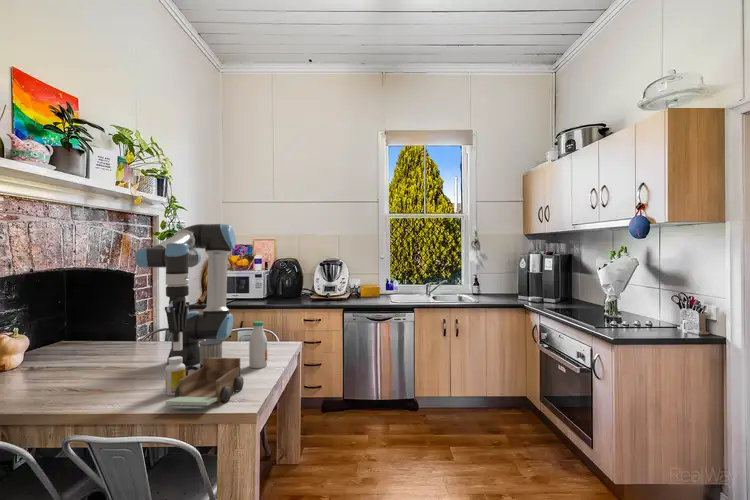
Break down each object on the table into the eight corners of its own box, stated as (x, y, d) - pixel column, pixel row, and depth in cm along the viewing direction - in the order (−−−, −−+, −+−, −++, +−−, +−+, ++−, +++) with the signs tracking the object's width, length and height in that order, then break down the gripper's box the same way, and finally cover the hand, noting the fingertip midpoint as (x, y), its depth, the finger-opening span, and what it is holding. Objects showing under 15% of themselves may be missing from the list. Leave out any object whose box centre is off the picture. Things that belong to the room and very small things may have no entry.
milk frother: (225, 379, 169) (225, 342, 169) (182, 385, 161) (182, 347, 160) (218, 370, 181) (218, 336, 181) (178, 376, 173) (178, 340, 173)
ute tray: (174, 403, 142) (174, 371, 142) (200, 386, 160) (199, 357, 160) (224, 404, 141) (224, 372, 141) (245, 387, 159) (244, 358, 159)
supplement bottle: (189, 391, 154) (189, 356, 154) (175, 397, 148) (175, 360, 148) (175, 389, 156) (175, 354, 156) (161, 395, 150) (161, 359, 150)
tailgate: (177, 401, 140) (165, 406, 133) (178, 396, 141) (166, 401, 133) (216, 402, 139) (206, 407, 132) (217, 397, 140) (207, 402, 132)
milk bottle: (262, 369, 182) (262, 323, 182) (246, 368, 184) (246, 322, 184) (270, 364, 190) (270, 320, 190) (254, 363, 191) (254, 320, 191)
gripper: (177, 287, 145) (178, 355, 145) (196, 283, 158) (196, 345, 158) (156, 287, 145) (157, 354, 145) (176, 283, 158) (177, 345, 158)
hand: (177, 349), depth 152 cm, fingers closed
